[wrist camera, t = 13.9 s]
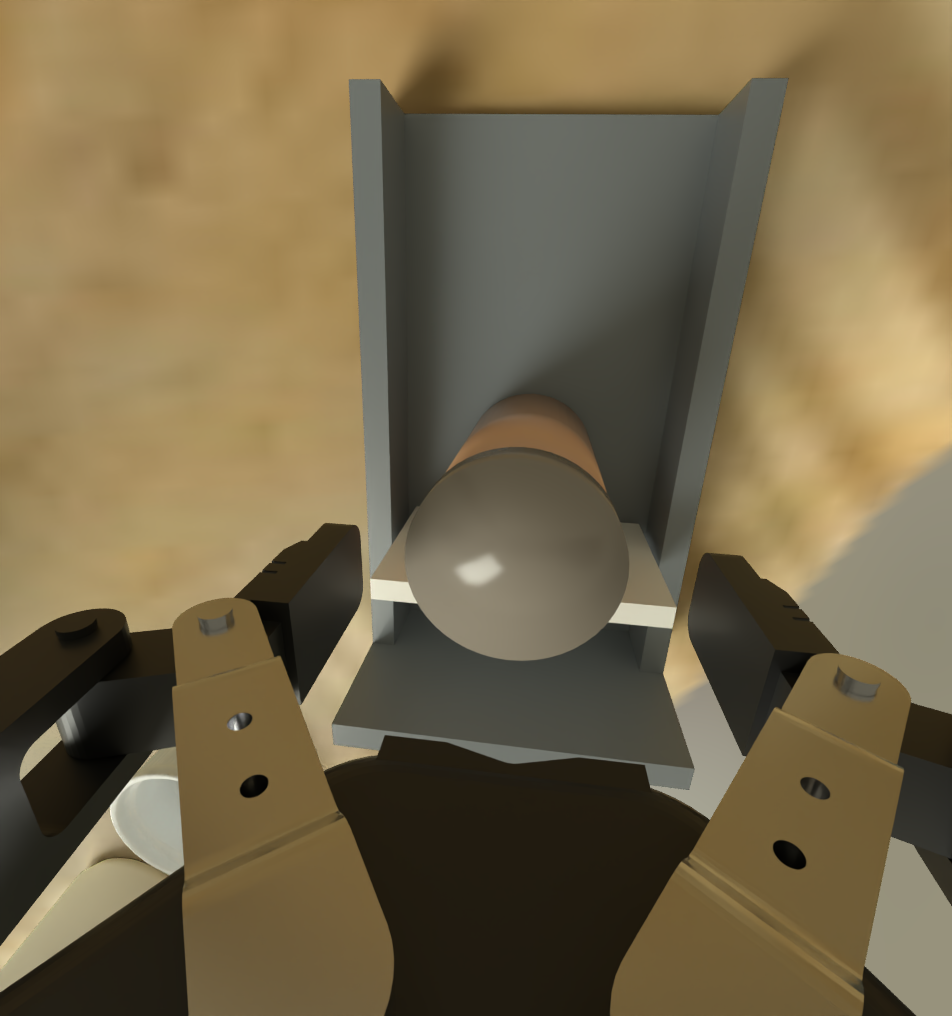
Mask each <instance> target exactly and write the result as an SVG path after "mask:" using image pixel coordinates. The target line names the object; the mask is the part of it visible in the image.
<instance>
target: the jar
mask: <svg viewBox="0 0 952 1016" xmlns="http://www.w3.org/2000/svg"><path fill="white" fill-rule="evenodd" d="M404 559H405V570H406V575H407V579H408V583H409V586H410V588H411V591H412V594H413V596H414V598H415V600H416V602H417V603H418V605H419V607H420V608H421V610H422V611H423V613H424V614H425V615H426V617H427V618H428V619H429V620H430V621H431V622H432V623H433V624H434V626H435V627H436V628H438V629H439V630H440V631H441V632H442V633H443V634H445V635H446V636H447V637H449V638H450V639H452V640H453V641H455V642H456V643H458V644H460V645H462V646H463V647H465V648H467V649H469V650H472V651H474V652H477V653H479V654H482V655H486V656H489V657H493V658H498V659H504V660H516V661H527V660H538V659H544V658H550V657H553V656H557V655H560V654H563V653H565V652H568V651H570V650H573V649H575V648H576V647H578V646H580V645H582V644H584V643H585V642H587V641H588V640H589V639H591V638H592V637H593V636H595V635H596V634H597V633H598V632H599V631H600V630H601V629H602V628H603V627H604V626H605V625H606V624H607V623H608V622H609V620H610V619H611V618H612V617H613V615H614V614H615V612H616V610H617V609H618V607H619V605H620V603H621V601H622V598H623V596H624V593H625V590H626V586H627V582H628V577H629V551H628V547H627V542H626V538H625V535H624V532H623V529H622V526H621V523H620V520H619V517H618V514H617V512H616V509H615V507H614V505H613V503H612V501H611V499H610V498H609V496H608V494H607V492H606V489H605V486H604V482H603V479H602V476H601V473H600V470H599V467H598V463H597V460H596V457H595V454H594V451H593V448H592V444H591V441H590V438H589V435H588V432H587V430H586V428H585V426H584V424H583V422H582V421H581V419H580V418H579V417H578V415H577V414H576V413H575V412H574V411H573V410H572V409H571V408H569V407H568V406H567V405H565V404H564V403H562V402H560V401H559V400H556V399H554V398H552V397H549V396H545V395H540V394H520V395H515V396H511V397H508V398H506V399H504V400H501V401H500V402H498V403H496V404H495V405H493V406H492V407H491V408H489V409H488V410H487V411H486V412H485V413H484V414H483V415H482V416H481V418H480V419H479V421H478V422H477V423H476V425H475V427H474V428H473V430H472V431H471V433H470V435H469V436H468V438H467V439H466V441H465V443H464V444H463V446H462V447H461V449H460V451H459V452H458V454H457V455H456V457H455V458H454V460H453V462H452V463H451V465H450V466H449V468H448V470H447V471H446V473H445V474H444V475H443V476H442V477H441V478H440V479H439V480H438V481H437V482H436V483H435V484H434V486H433V487H432V489H431V490H430V491H429V493H428V494H427V496H426V497H425V499H424V500H423V502H422V503H421V505H420V507H419V508H418V510H417V512H416V514H415V516H414V517H413V519H412V522H411V524H410V527H409V530H408V533H407V538H406V543H405V557H404Z"/></svg>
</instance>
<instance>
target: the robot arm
mask: <svg viewBox="0 0 952 1016" xmlns="http://www.w3.org/2000/svg"><path fill="white" fill-rule="evenodd" d="M362 591H363V576H362V559H361V541H360V532H359V529H358V527H357V526H356V525H346V524H333V523H325V524H323V525H322V526H321V527H320V528H319V530H318V531H317V532H316V533H315V534H314V535H313V536H312V537H311V538H310V539H309V540H308V541H300V542H298V543H296V544H294V545H292V546H290V547H288V548H286V549H284V550H283V551H282V552H281V553H280V554H279V555H278V556H277V557H275V558H274V559H273V560H272V563H269V564H268V565H267V566H266V567H265V568H264V569H263V571H262V573H261V572H260V573H259V574H258V575H257V576H256V577H255V578H254V579H253V580H252V581H251V582H250V583H249V584H248V585H247V586H245V587H244V588H243V589H242V590H241V591H240V592H239V593H238V594H237V595H236V596H235V597H234V598H221V599H215V600H211V601H207V602H204V603H201V604H198V605H196V606H194V607H191V608H190V609H188V610H186V611H185V612H183V613H182V614H181V615H180V616H179V617H178V618H177V619H176V620H175V621H174V624H173V627H172V628H171V629H162V630H152V631H143V632H133V633H130V632H129V628H128V624H127V620H126V617H125V615H124V614H123V613H122V612H120V611H118V610H114V609H91V610H84V611H80V612H76V613H72V614H69V615H66V616H63V617H60V618H58V619H56V620H53V621H51V622H49V623H48V624H46V625H44V626H42V627H41V628H39V629H38V630H36V631H35V632H34V633H32V634H31V635H29V636H28V637H26V638H25V639H24V640H22V641H21V642H19V643H18V644H16V645H15V646H14V647H12V648H11V649H9V650H8V651H6V652H5V653H4V654H2V655H1V656H0V946H1V944H2V943H3V942H4V941H5V939H6V938H7V937H8V936H9V934H10V933H11V932H12V930H13V929H14V928H15V927H16V925H17V924H18V923H19V921H20V920H21V919H22V918H23V916H24V915H25V914H26V913H27V911H28V910H29V909H30V907H31V906H32V905H33V904H34V902H35V901H36V900H37V898H38V897H39V896H40V895H41V893H42V892H43V891H44V890H45V888H46V887H47V886H48V884H49V883H50V882H51V881H52V879H53V878H54V877H55V875H56V874H57V873H58V872H59V870H60V869H61V868H62V867H63V865H64V864H65V863H66V861H67V860H68V859H69V858H70V856H71V855H72V854H73V852H74V851H75V850H76V849H77V847H78V846H79V845H80V844H81V842H82V841H83V840H84V838H85V837H86V836H87V835H88V833H89V832H90V831H91V829H92V828H93V827H94V826H95V824H96V823H97V822H98V821H99V819H100V818H101V817H102V815H103V814H104V813H105V812H106V810H107V809H108V808H109V807H110V805H111V804H112V803H113V801H114V800H115V799H116V798H117V796H118V795H119V794H120V792H121V791H122V790H123V789H124V787H125V786H126V785H127V784H128V782H129V781H130V780H131V778H132V777H133V776H134V775H135V773H136V772H137V771H138V769H139V768H140V767H141V766H142V764H143V763H144V762H145V761H146V759H147V758H148V757H149V755H150V754H151V753H152V751H153V750H158V749H164V748H171V747H176V756H177V770H178V785H179V799H180V814H181V828H182V843H183V857H184V866H182V867H181V868H179V869H178V870H176V871H175V872H173V873H172V874H171V875H169V876H168V877H166V878H165V879H163V880H162V881H160V882H159V883H158V884H156V885H155V886H153V887H152V888H150V889H149V890H147V891H146V892H144V893H143V894H142V895H140V896H139V897H137V898H136V899H134V900H133V901H131V902H130V903H129V904H127V905H126V906H124V907H123V908H121V909H120V910H118V911H117V912H116V913H114V914H113V915H111V916H110V917H108V918H107V919H105V920H104V921H103V922H101V923H100V924H98V925H97V926H95V927H94V928H92V929H91V930H90V931H88V932H87V933H85V934H84V935H82V936H81V937H79V938H78V939H77V940H75V941H74V942H72V943H71V944H69V945H68V946H66V947H65V948H64V949H62V950H61V951H59V952H58V953H56V954H55V955H53V956H52V957H50V958H49V959H48V960H46V961H45V962H43V963H42V964H40V965H39V966H37V967H36V968H35V969H33V970H32V971H30V972H29V973H27V974H26V975H24V976H23V977H22V978H20V979H19V980H17V981H16V982H14V983H13V984H11V985H10V986H9V987H7V988H6V989H4V990H3V991H1V992H0V1016H916V1015H915V1014H914V1013H913V1012H912V1011H911V1010H910V1009H909V1008H908V1007H907V1006H906V1005H904V1004H903V1003H902V1002H901V1001H900V1000H899V999H898V998H897V997H896V996H895V995H894V994H893V993H892V992H891V991H890V990H889V989H888V988H887V987H886V986H885V985H884V984H883V983H882V982H881V981H879V980H878V979H877V978H876V977H875V976H874V975H873V974H872V973H871V972H870V971H869V970H868V969H867V968H866V967H865V966H864V965H865V960H866V955H867V950H868V946H869V941H870V936H871V931H872V926H873V921H874V916H875V911H876V906H877V901H878V896H879V892H880V886H881V882H882V877H883V872H884V867H885V862H886V858H887V852H888V848H889V842H890V838H891V837H894V838H896V839H899V840H902V841H905V842H907V843H910V844H912V845H914V846H915V848H916V850H917V852H918V853H919V855H920V856H921V858H922V860H923V861H924V863H925V864H926V866H927V867H928V869H929V871H930V872H931V874H932V875H933V877H934V879H935V880H936V882H937V883H938V885H939V887H940V888H941V890H942V891H943V893H944V895H945V896H946V898H947V899H948V901H949V902H950V904H951V906H952V714H948V713H945V712H941V711H938V710H934V709H931V708H927V707H924V706H920V705H917V704H914V703H911V698H910V695H909V693H908V691H907V690H906V688H905V687H904V686H903V685H902V684H901V683H900V682H899V681H898V680H897V679H896V678H894V677H893V676H891V675H890V674H889V673H887V672H885V671H884V670H882V669H880V668H878V667H876V666H874V665H872V664H870V663H868V662H865V661H863V660H860V659H857V658H854V657H850V656H846V655H841V654H839V652H838V651H837V650H836V649H835V648H834V647H833V645H832V644H831V643H830V642H829V641H828V640H827V638H826V637H825V636H824V635H823V634H822V633H821V631H820V630H819V629H818V628H817V627H816V626H815V624H813V622H810V621H809V617H808V616H807V615H806V614H805V613H804V612H803V611H802V609H799V606H798V605H797V604H796V602H795V601H794V600H793V599H792V598H791V597H790V595H789V594H788V593H787V592H786V591H784V590H783V589H781V588H779V587H778V586H776V585H775V584H773V583H772V582H770V581H768V580H767V579H761V578H760V577H759V576H758V575H757V573H756V572H755V571H754V570H753V568H752V567H751V566H750V565H749V564H748V562H747V561H746V560H745V559H744V557H742V556H738V555H725V554H712V553H705V554H704V555H703V557H702V559H701V561H700V565H699V569H698V573H697V578H696V582H695V587H694V592H693V596H692V601H691V605H690V610H689V615H688V631H689V637H690V640H691V642H692V645H693V647H694V649H695V651H696V653H697V656H698V658H699V660H700V662H701V665H702V667H703V669H704V671H705V673H706V676H707V678H708V680H709V682H710V684H711V686H712V689H713V691H714V693H715V695H716V698H717V700H718V702H719V704H720V706H721V709H722V711H723V713H724V715H725V718H726V720H727V722H728V724H729V727H730V729H731V731H732V733H733V735H734V738H735V740H736V742H737V744H738V746H739V749H740V751H741V753H742V755H743V756H746V758H745V760H744V762H743V763H742V765H741V767H740V769H739V770H738V772H737V774H736V776H735V777H734V779H733V781H732V783H731V784H730V786H729V788H728V790H727V791H726V793H725V795H724V797H723V798H722V800H721V802H720V804H719V805H718V807H717V809H716V810H715V812H714V814H713V816H712V817H711V819H710V820H709V819H708V818H707V817H705V816H704V815H702V814H701V813H699V812H697V811H696V810H694V809H693V808H692V807H690V806H688V805H686V804H685V803H683V802H681V801H679V800H677V799H676V798H673V797H671V796H669V795H667V794H665V793H662V792H660V791H657V790H654V789H652V788H650V784H649V780H648V776H647V771H646V767H645V765H641V764H633V763H624V762H615V761H607V760H598V759H589V758H581V757H577V758H567V759H557V760H548V761H538V762H528V763H519V764H512V763H506V762H503V761H500V760H497V759H494V758H491V757H488V756H486V755H483V754H480V753H477V752H474V751H471V750H468V749H465V748H462V747H459V746H457V745H454V744H451V743H448V742H442V741H433V740H425V739H416V738H407V737H399V736H390V735H385V736H384V739H383V742H382V744H381V747H380V750H379V753H378V755H377V756H369V757H364V758H359V759H355V760H351V761H348V762H345V763H342V764H339V765H336V766H334V767H332V768H329V769H327V770H325V771H323V769H322V766H321V763H320V761H319V758H318V755H317V752H316V750H315V747H314V744H313V742H312V739H311V736H310V734H309V731H308V728H307V726H306V723H305V720H304V718H303V715H302V712H301V709H300V707H299V705H301V704H302V703H303V701H304V699H305V697H306V696H307V694H308V692H309V691H310V689H311V687H312V686H313V684H314V682H315V681H316V679H317V677H318V675H319V674H320V672H321V670H322V669H323V667H324V665H325V664H326V662H327V660H328V658H329V657H330V655H331V653H332V652H333V650H334V648H335V647H336V645H337V643H338V642H339V640H340V638H341V636H342V635H343V633H344V631H345V630H346V628H347V626H348V625H349V623H350V621H351V620H352V618H353V616H354V614H355V613H356V611H357V609H358V607H359V605H360V602H361V598H362ZM55 722H56V724H57V727H58V730H59V733H60V735H61V738H62V740H61V741H60V742H59V743H58V744H57V745H56V746H55V747H54V748H53V749H52V750H51V751H50V752H49V753H48V754H47V755H46V756H45V757H44V758H43V759H42V760H41V761H40V762H39V763H38V764H37V765H36V766H35V767H34V768H33V769H32V770H31V771H30V772H29V773H28V774H27V775H26V776H25V777H24V778H23V779H22V780H21V781H20V775H19V773H20V767H21V763H22V760H23V758H24V756H25V754H26V752H27V751H28V749H29V748H30V747H31V745H32V744H33V743H34V742H35V741H36V740H37V739H38V738H39V737H40V736H41V735H42V734H44V733H45V732H46V731H47V730H48V729H49V728H50V727H51V726H52V725H53V724H54V723H55Z"/></svg>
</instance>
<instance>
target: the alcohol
mask: <svg viewBox="0 0 952 1016" xmlns="http://www.w3.org/2000/svg"><path fill="white" fill-rule="evenodd" d="M166 877H168V876H167V875H166V874H164V873H163V872H161V871H160V870H158V869H157V868H155V867H152V866H150V865H148V864H146V863H143V862H140V861H137V860H133V859H128V858H110V859H106V860H103V861H101V862H99V863H97V864H95V865H93V866H91V867H89V868H88V869H86V870H84V871H82V872H81V873H80V874H79V875H78V876H77V877H76V878H75V880H74V881H73V882H72V883H71V885H70V886H69V887H68V888H67V889H66V891H65V892H64V893H63V894H62V896H61V897H60V898H59V899H58V900H57V902H56V903H55V904H54V905H53V907H52V908H51V909H50V910H49V911H48V913H47V914H46V915H45V916H44V918H43V919H42V920H41V921H40V922H39V924H38V925H37V926H36V927H35V929H34V930H33V931H32V932H31V933H30V935H29V936H28V937H27V938H26V940H25V941H24V942H23V943H22V944H21V946H20V947H19V948H18V949H17V951H16V952H15V953H14V954H13V955H12V957H11V958H10V959H9V960H8V962H7V963H6V964H5V965H4V966H3V968H2V969H1V970H0V992H1V991H3V990H4V989H6V988H7V987H9V986H10V985H11V984H13V983H14V982H16V981H17V980H19V979H20V978H22V977H23V976H24V975H26V974H27V973H29V972H30V971H32V970H33V969H35V968H36V967H37V966H39V965H40V964H42V963H43V962H45V961H46V960H48V959H49V958H50V957H52V956H53V955H55V954H56V953H58V952H59V951H61V950H62V949H64V948H65V947H66V946H68V945H69V944H71V943H72V942H74V941H75V940H77V939H78V938H79V937H81V936H82V935H84V934H85V933H87V932H88V931H90V930H91V929H92V928H94V927H95V926H97V925H98V924H100V923H101V922H103V921H104V920H105V919H107V918H108V917H110V916H111V915H113V914H114V913H116V912H117V911H118V910H120V909H121V908H123V907H124V906H126V905H127V904H129V903H130V902H131V901H133V900H134V899H136V898H137V897H139V896H140V895H142V894H143V893H144V892H146V891H147V890H149V889H150V888H152V887H153V886H155V885H156V884H158V883H159V882H160V881H162V880H163V879H165V878H166Z"/></svg>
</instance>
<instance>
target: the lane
mask: <svg viewBox="0 0 952 1016" xmlns="http://www.w3.org/2000/svg"><path fill="white" fill-rule="evenodd" d="M787 83H788V78H752V79H751V80H750V81H749V82H748V83H747V84H746V86H745V87H744V88H743V89H742V90H741V91H740V92H739V93H738V94H737V95H736V97H735V98H734V99H733V100H732V101H731V102H730V103H729V104H728V105H727V106H726V108H725V109H724V110H723V111H722V112H721V113H720V114H719V115H607V114H404V113H403V111H402V110H401V108H400V107H399V105H398V104H397V103H396V101H395V100H394V98H393V97H392V95H391V94H390V93H389V91H388V90H387V88H386V87H385V85H384V84H383V83H382V81H381V80H380V79H349V94H350V117H351V140H352V164H353V187H354V210H355V234H356V257H357V280H358V304H359V327H360V350H361V374H362V397H363V420H364V444H365V467H366V490H367V514H368V537H369V560H370V578H371V577H372V575H373V574H374V572H375V571H376V569H377V567H378V566H379V564H380V563H381V561H382V560H383V558H384V556H385V555H386V553H387V552H388V550H389V549H390V547H391V545H392V544H393V542H394V541H395V539H396V538H397V536H398V534H399V533H400V531H401V530H402V528H403V527H404V525H405V523H406V522H407V520H408V519H409V517H410V516H411V514H412V512H413V511H414V509H415V508H416V506H420V505H421V503H422V502H423V500H424V499H425V497H426V496H427V494H428V493H429V491H430V490H431V489H432V487H433V486H434V484H435V483H436V482H437V481H438V480H439V479H440V478H441V477H442V476H443V475H444V474H445V473H446V471H447V470H448V468H449V466H450V465H451V463H452V462H453V460H454V458H455V457H456V455H457V454H458V452H459V451H460V449H461V447H462V446H463V444H464V443H465V441H466V439H467V438H468V436H469V435H470V433H471V431H472V430H473V428H474V427H475V425H476V423H477V422H478V421H479V419H480V418H481V416H482V415H483V414H484V413H485V412H486V411H487V410H488V409H489V408H491V407H492V406H493V405H495V404H496V403H498V402H500V401H501V400H504V399H506V398H508V397H511V396H515V395H520V394H540V395H545V396H549V397H552V398H554V399H556V400H559V401H560V402H562V403H564V404H565V405H567V406H568V407H569V408H571V409H572V410H573V411H574V412H575V413H576V414H577V415H578V417H579V418H580V419H581V421H582V422H583V424H584V426H585V428H586V430H587V432H588V435H589V438H590V441H591V444H592V448H593V451H594V454H595V457H596V460H597V463H598V467H599V470H600V473H601V476H602V479H603V482H604V486H605V489H606V492H607V494H608V496H609V498H610V499H611V501H612V503H613V505H614V507H615V509H616V512H617V514H618V517H619V520H620V522H622V523H634V524H639V525H640V528H641V530H642V532H643V534H644V536H645V539H646V541H647V543H648V545H649V548H650V550H651V552H652V554H653V556H654V559H655V561H656V563H657V565H658V567H659V570H660V572H661V574H662V576H663V578H664V581H665V583H666V585H667V587H668V590H669V592H670V594H671V596H672V598H673V601H674V603H675V605H676V607H677V605H678V600H679V595H680V590H681V586H682V581H683V576H684V571H685V567H686V562H687V557H688V552H689V548H690V543H691V538H692V534H693V529H694V524H695V519H696V515H697V510H698V505H699V500H700V496H701V491H702V486H703V481H704V477H705V472H706V467H707V462H708V458H709V453H710V448H711V443H712V439H713V434H714V429H715V424H716V420H717V415H718V410H719V406H720V401H721V396H722V391H723V387H724V382H725V377H726V372H727V368H728V363H729V358H730V353H731V349H732V344H733V339H734V334H735V330H736V325H737V320H738V315H739V311H740V306H741V301H742V296H743V292H744V287H745V282H746V278H747V273H748V268H749V263H750V259H751V254H752V249H753V244H754V240H755V235H756V230H757V225H758V221H759V216H760V211H761V206H762V202H763V197H764V192H765V187H766V183H767V178H768V173H769V168H770V164H771V159H772V154H773V150H774V145H775V140H776V135H777V131H778V126H779V121H780V116H781V112H782V107H783V102H784V97H785V93H786V88H787ZM371 607H372V630H373V644H372V646H371V648H370V650H369V652H368V654H367V656H366V658H365V660H364V662H363V664H362V665H361V667H360V669H359V671H358V673H357V675H356V677H355V679H354V681H353V683H352V685H351V687H350V689H349V691H348V693H347V695H346V697H345V699H344V701H343V703H342V705H341V707H340V709H339V711H338V713H337V715H336V717H335V719H334V721H333V723H332V732H333V744H334V745H341V746H348V747H356V748H364V749H372V750H380V747H381V744H382V742H383V739H384V736H385V735H390V736H399V737H407V738H416V739H425V740H433V741H442V742H448V743H451V744H454V745H457V746H459V747H462V748H465V749H468V750H471V751H474V752H477V753H480V754H483V755H486V756H488V757H491V758H494V759H497V760H500V761H503V762H506V763H512V764H519V763H528V762H538V761H548V760H557V759H567V758H577V757H581V758H589V759H598V760H607V761H615V762H624V763H633V764H641V765H645V767H646V771H647V776H648V780H649V784H650V785H654V786H662V787H670V788H678V789H686V790H689V788H690V785H691V780H692V777H693V773H694V766H693V763H692V760H691V757H690V754H689V751H688V748H687V745H686V742H685V739H684V736H683V733H682V730H681V727H680V724H679V721H678V718H677V715H676V712H675V709H674V706H673V703H672V699H671V696H670V693H669V690H668V687H667V684H666V681H665V678H664V675H663V671H664V666H665V661H666V657H667V652H668V647H669V643H670V638H671V633H672V629H671V628H661V627H651V626H641V625H631V624H620V623H610V622H608V623H607V624H606V625H605V626H604V627H603V628H602V629H601V630H600V631H599V632H598V633H597V634H596V635H595V636H593V637H592V638H591V639H589V640H588V641H587V642H585V643H584V644H582V645H580V646H578V647H576V648H575V649H573V650H570V651H568V652H565V653H563V654H560V655H557V656H553V657H550V658H544V659H538V660H527V661H516V660H504V659H498V658H493V657H489V656H486V655H482V654H479V653H477V652H474V651H472V650H469V649H467V648H465V647H463V646H462V645H460V644H458V643H456V642H455V641H453V640H452V639H450V638H449V637H447V636H446V635H445V634H443V633H442V632H441V631H440V630H439V629H438V628H436V627H435V626H434V624H433V623H432V622H431V621H430V620H429V619H428V618H427V617H426V615H425V614H424V613H423V611H422V610H421V608H420V607H419V605H418V604H417V603H407V602H397V601H387V600H377V599H371ZM674 619H675V618H674ZM673 624H674V623H673Z"/></svg>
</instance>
